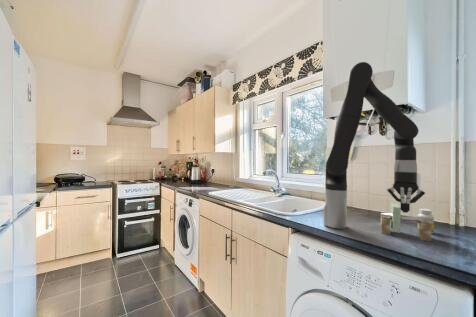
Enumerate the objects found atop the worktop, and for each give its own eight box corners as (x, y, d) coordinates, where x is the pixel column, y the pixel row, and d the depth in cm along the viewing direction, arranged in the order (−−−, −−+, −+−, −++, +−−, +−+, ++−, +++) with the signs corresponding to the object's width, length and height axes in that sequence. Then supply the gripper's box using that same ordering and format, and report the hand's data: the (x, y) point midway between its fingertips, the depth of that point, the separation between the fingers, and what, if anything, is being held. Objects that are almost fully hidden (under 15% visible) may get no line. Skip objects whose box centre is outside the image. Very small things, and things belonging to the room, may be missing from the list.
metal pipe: (381, 219, 92) (381, 213, 92) (380, 217, 95) (381, 211, 95) (429, 225, 84) (430, 218, 84) (428, 223, 86) (428, 217, 86)
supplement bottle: (417, 229, 98) (417, 207, 98) (433, 231, 94) (433, 209, 95) (417, 231, 94) (417, 209, 94) (434, 234, 90) (434, 211, 90)
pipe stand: (381, 233, 91) (381, 216, 91) (380, 229, 96) (380, 214, 96) (430, 241, 83) (431, 223, 83) (427, 236, 88) (427, 219, 88)
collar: (393, 231, 87) (393, 207, 87) (390, 225, 96) (390, 203, 96) (400, 232, 86) (400, 207, 86) (397, 226, 94) (397, 203, 95)
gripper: (387, 170, 90) (386, 211, 89) (428, 172, 83) (428, 216, 83) (385, 170, 96) (385, 208, 96) (423, 171, 89) (423, 212, 89)
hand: (405, 212), depth 89 cm, fingers closed
